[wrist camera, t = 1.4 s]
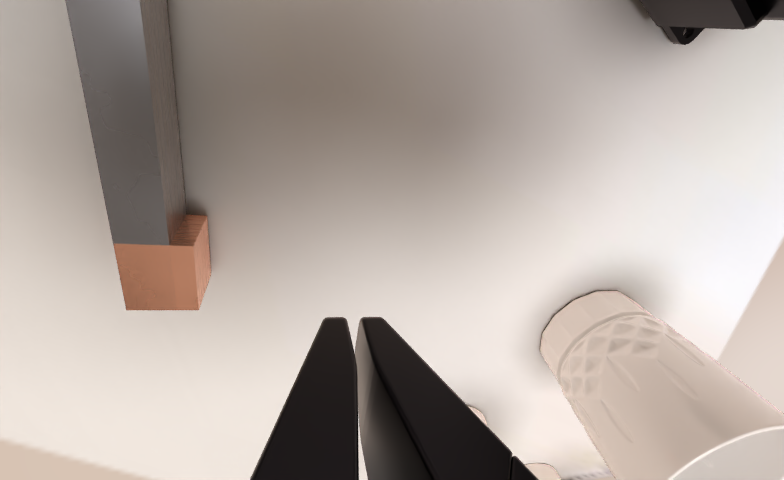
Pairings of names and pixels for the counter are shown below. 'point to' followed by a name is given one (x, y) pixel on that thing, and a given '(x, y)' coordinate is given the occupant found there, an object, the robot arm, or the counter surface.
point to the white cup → (658, 397)
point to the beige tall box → (543, 471)
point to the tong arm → (140, 151)
